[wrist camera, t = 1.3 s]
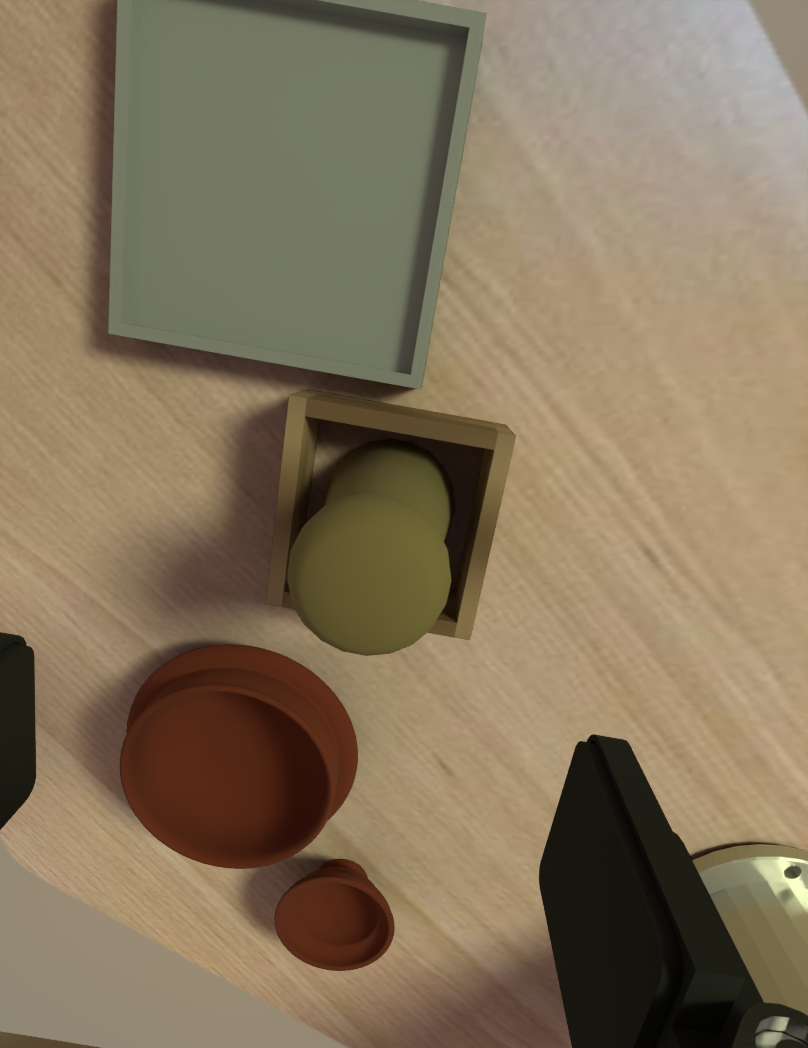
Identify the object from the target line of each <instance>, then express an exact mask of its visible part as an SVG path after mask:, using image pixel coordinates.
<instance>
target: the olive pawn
mask: <svg viewBox="0 0 808 1048" xmlns="http://www.w3.org/2000/svg"><path fill="white" fill-rule="evenodd" d="M454 508H455V500H454V491H453V485H452V483H451V481H450V478H449V476H448V474H447V472H446V470H445V468H444V466H443V465H442V464H441V463H440V462H439V461H438V460H437V459H436V458H435V457H434V456H433V455H432V454H431V453H430V452H429V451H427V450H425V449H423V448H421V447H420V446H418V445H416V444H414V443H412V442H408V441H402V440H397V439H392V438H391V439H383V440H376V441H370V442H368V443H366V444H364V445H362V446H360V447H358V448H356V449H353V450H352V451H351V452H350V453H349V454H348V455H347V456H346V457H345V458H344V459H343V460H342V461H341V462H340V463H339V464H338V465H337V467H336V469H335V471H334V473H333V475H332V477H331V479H330V481H329V485H328V491H327V496H326V502H325V506H324V507H323V508H322V509H321V510H320V511H318V512H317V513H316V514H315V515H314V516H313V517H312V518H311V519H310V520H309V521H308V522H307V523H306V524H305V525H304V526H303V528H302V529H301V531H300V533H299V535H298V537H297V539H296V541H295V543H294V545H293V547H292V549H291V552H290V559H289V567H288V585H289V590H290V595H291V600H292V604H293V606H294V607H295V609H296V611H297V613H298V615H299V616H300V618H301V620H302V622H303V623H304V625H305V626H307V627H308V628H309V629H310V630H311V631H312V632H313V633H314V634H315V635H316V636H317V637H318V638H319V639H320V640H322V641H324V642H326V643H328V644H329V645H331V646H333V647H335V648H337V649H339V650H341V651H344V652H349V653H355V654H360V655H365V656H369V655H379V654H390V653H393V652H395V651H398V650H400V649H403V648H405V647H407V646H410V645H412V644H414V643H415V642H416V641H417V640H418V639H420V638H421V637H422V636H423V635H424V634H426V633H427V632H428V631H429V630H430V629H431V628H432V626H433V625H434V623H435V621H436V620H437V618H438V617H439V615H440V613H441V612H442V610H443V608H444V607H445V605H446V603H447V598H448V594H449V589H450V585H451V572H450V564H449V556H448V549H447V547H446V545H445V543H444V541H445V538H446V536H447V533H448V531H449V528H450V526H451V522H452V517H453V513H454Z"/></svg>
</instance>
